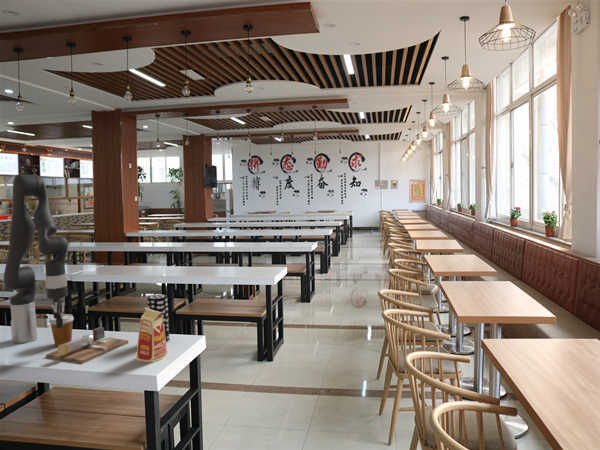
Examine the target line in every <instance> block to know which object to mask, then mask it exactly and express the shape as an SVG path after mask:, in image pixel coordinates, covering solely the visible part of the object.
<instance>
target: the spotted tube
mask: <svg viewBox="0 0 600 450" xmlns="http://www.w3.org/2000/svg"><path fill="white" fill-rule="evenodd" d="M146 300H147V308H148V309H151V310H153V311H158V312H162V313H161V314H160V315H161V316H162V319H163V324H164V330H165V338H166V342H167V343H169V342H170V326H169V322H170V321H169V302H168V295H167V294H163V293H160V294H153V295H149V296H147V299H146ZM168 341H169V342H168Z"/></svg>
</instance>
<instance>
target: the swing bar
mask: <svg viewBox="0 0 600 450" xmlns="http://www.w3.org/2000/svg"><path fill="white" fill-rule="evenodd" d="M92 344H94V341H93V333H92V334H84V335H82V336H81V337H78V338H76V339H73V340H71V341H70V342H68V343H65V344H61V345H58V346H57V348H58V349H57V350H59V354H63V355H65V354H67V353H69V352H70V351H73V350H75V349H77V348H80V347H82V346H88V345H92Z"/></svg>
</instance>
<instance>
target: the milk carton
mask: <svg viewBox="0 0 600 450" xmlns="http://www.w3.org/2000/svg"><path fill="white" fill-rule="evenodd" d="M144 309H145V311H144V313H143V314H142V315H141V318H140V323H139V330H138V337H137V344H136V359H135V360H136V361H138V362H146V363H154V362H157V361H159V360H160V361H161V360H162V359H165V357H166V356H167V355H166V354H168V349H167V348H168V347H167V346H168V345H167V343H166V338H165V330H164V324H163V319H162V316H161V315H160V314H161V313H162V312H158V311H153V310H151V309H148V307H144ZM165 355H166V356H165Z"/></svg>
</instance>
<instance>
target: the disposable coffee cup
mask: <svg viewBox="0 0 600 450" xmlns="http://www.w3.org/2000/svg"><path fill="white" fill-rule="evenodd" d="M74 319H75V317H74V316H73V314H71V313H70V314H67V313H66V314H65V313H64V315H63V327H62V328H57V325H56V319H54V316H51V317H50V318H49V321H48V322H49V324H50V327H51V331H52V332H51V333H52V336H53V341H54V346H56V347H58V345H61V344H65V343H68V342H70V341H73V340H72V337H73V321H74Z"/></svg>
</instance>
